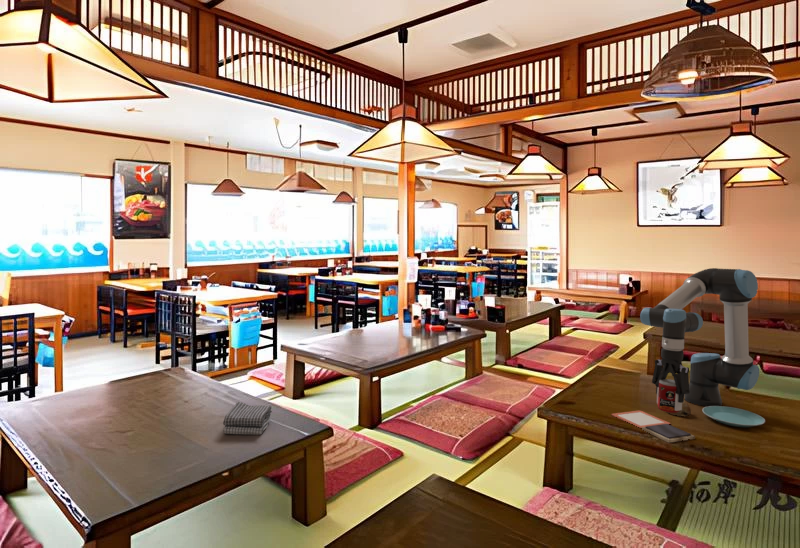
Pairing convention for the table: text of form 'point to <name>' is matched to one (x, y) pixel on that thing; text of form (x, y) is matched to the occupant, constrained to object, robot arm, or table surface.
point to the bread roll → (683, 410)
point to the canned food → (667, 395)
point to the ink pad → (668, 433)
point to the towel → (247, 419)
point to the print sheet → (639, 418)
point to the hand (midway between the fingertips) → (668, 406)
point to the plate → (733, 416)
